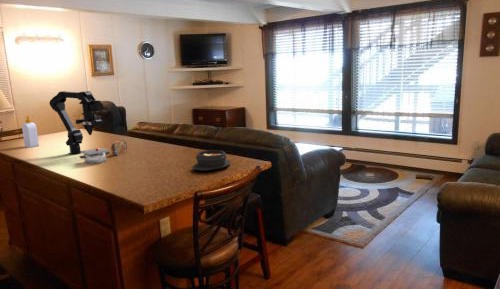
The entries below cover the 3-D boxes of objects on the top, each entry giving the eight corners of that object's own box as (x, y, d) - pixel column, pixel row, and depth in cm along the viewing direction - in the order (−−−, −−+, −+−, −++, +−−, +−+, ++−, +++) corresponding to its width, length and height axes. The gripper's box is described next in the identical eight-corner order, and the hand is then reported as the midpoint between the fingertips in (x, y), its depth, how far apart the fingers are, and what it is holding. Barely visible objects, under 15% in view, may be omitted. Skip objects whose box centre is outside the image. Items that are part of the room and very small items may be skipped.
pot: (77, 162, 226) (76, 154, 225) (105, 157, 237) (104, 150, 236) (84, 166, 217) (83, 157, 216) (113, 160, 228) (112, 152, 227)
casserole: (210, 175, 190) (209, 159, 189) (183, 171, 200) (182, 155, 199) (238, 164, 211) (238, 150, 209) (212, 161, 221) (212, 147, 219)
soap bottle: (40, 145, 283) (36, 115, 278) (30, 147, 277) (26, 116, 273) (34, 144, 288) (30, 115, 283) (24, 146, 282) (20, 116, 278)
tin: (115, 156, 240) (114, 143, 238) (111, 156, 241) (109, 143, 239) (127, 151, 254) (126, 139, 253) (123, 151, 255) (122, 139, 253)
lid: (80, 153, 226) (80, 148, 226) (100, 149, 234) (100, 145, 234) (88, 154, 217) (88, 150, 216) (109, 151, 225) (108, 147, 224)
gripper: (107, 110, 245) (110, 133, 248) (88, 109, 253) (90, 132, 256) (94, 112, 235) (96, 136, 238) (73, 111, 244) (76, 135, 247)
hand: (90, 135), depth 245 cm, fingers closed
